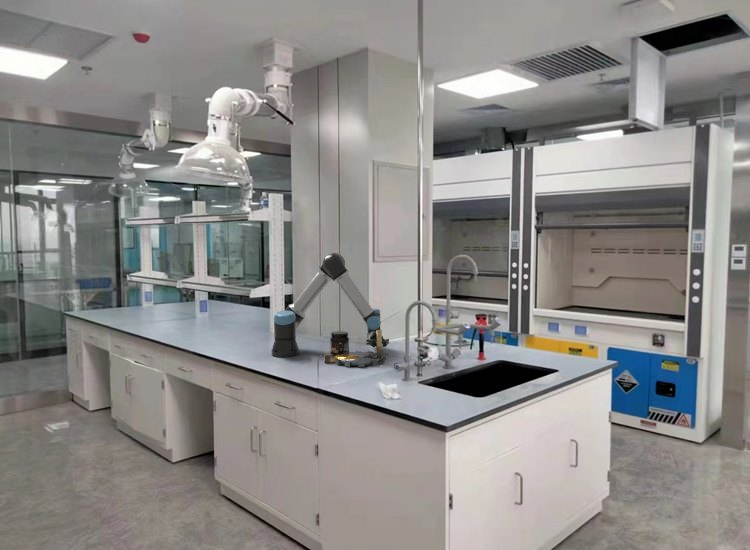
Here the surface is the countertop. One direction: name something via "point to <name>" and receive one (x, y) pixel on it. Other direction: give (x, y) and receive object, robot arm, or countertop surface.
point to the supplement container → (339, 342)
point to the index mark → (327, 358)
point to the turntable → (362, 356)
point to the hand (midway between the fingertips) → (381, 347)
